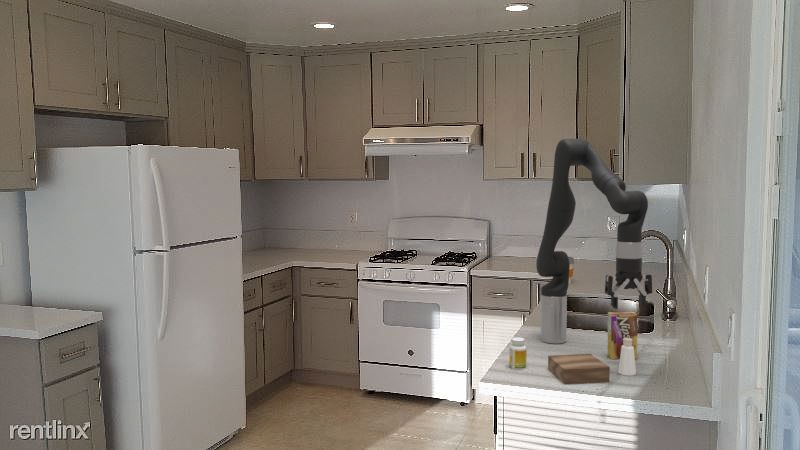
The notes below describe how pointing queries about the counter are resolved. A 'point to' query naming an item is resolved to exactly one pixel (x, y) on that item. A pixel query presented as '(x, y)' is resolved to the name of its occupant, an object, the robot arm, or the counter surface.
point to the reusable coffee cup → (571, 268)
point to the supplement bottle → (518, 354)
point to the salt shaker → (627, 358)
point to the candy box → (621, 332)
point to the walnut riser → (578, 369)
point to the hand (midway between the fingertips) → (628, 307)
